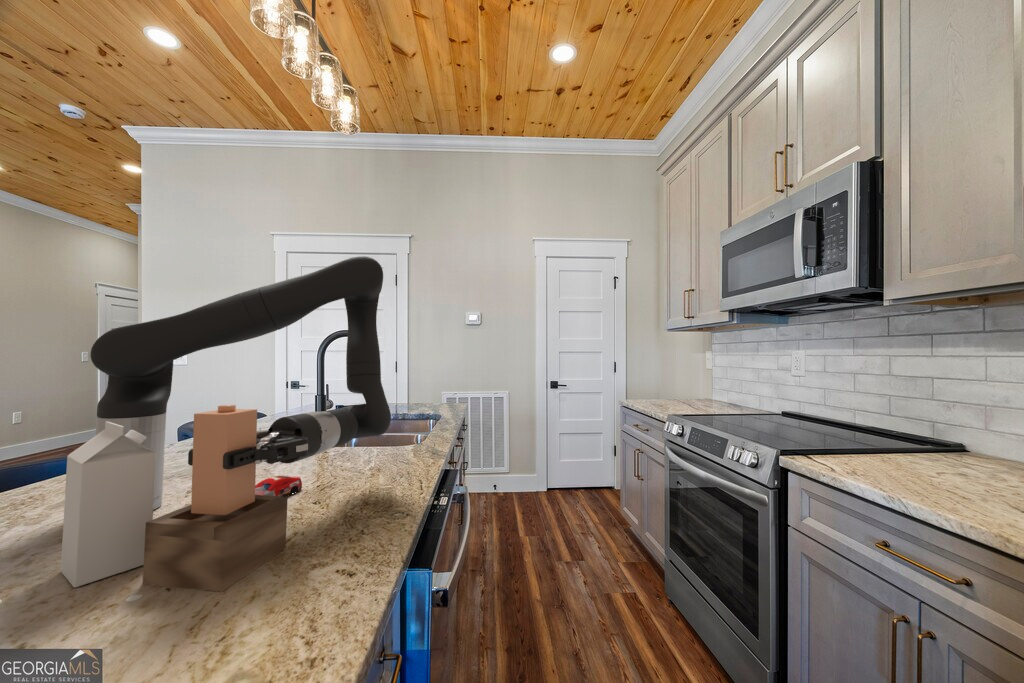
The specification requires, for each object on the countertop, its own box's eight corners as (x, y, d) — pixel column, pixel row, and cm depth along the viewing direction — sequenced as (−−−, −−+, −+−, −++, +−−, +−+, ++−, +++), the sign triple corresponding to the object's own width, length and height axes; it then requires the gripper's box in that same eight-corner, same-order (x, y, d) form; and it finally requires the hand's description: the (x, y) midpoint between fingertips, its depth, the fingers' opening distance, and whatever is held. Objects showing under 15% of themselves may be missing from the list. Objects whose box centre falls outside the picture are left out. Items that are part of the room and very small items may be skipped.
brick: (191, 513, 52) (194, 407, 53) (223, 499, 57) (226, 403, 57) (225, 515, 51) (227, 408, 52) (254, 501, 56) (257, 403, 57)
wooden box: (142, 583, 49) (145, 522, 49) (218, 542, 60) (221, 492, 60) (222, 591, 48) (225, 528, 48) (285, 548, 59) (287, 496, 59)
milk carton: (74, 589, 48) (83, 430, 48) (59, 572, 51) (68, 424, 52) (151, 564, 54) (158, 423, 55) (133, 549, 57) (140, 418, 58)
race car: (249, 514, 72) (250, 492, 72) (227, 510, 73) (228, 489, 73) (307, 490, 84) (307, 471, 84) (286, 488, 86) (287, 469, 86)
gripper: (272, 411, 70) (168, 428, 54) (341, 415, 67) (251, 434, 50) (271, 454, 70) (165, 483, 54) (340, 460, 66) (249, 494, 50)
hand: (208, 459), depth 52 cm, fingers closed on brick, 5 cm apart
